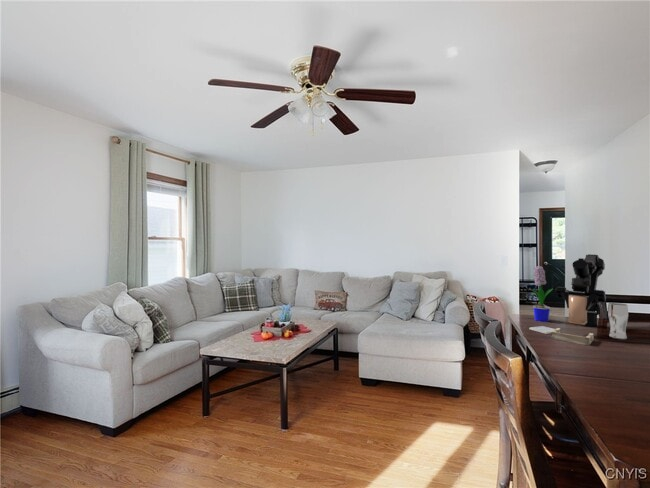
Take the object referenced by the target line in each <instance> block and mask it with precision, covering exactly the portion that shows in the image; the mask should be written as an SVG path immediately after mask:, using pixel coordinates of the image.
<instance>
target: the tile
mask: <svg viewBox="0 0 650 488" xmlns="http://www.w3.org/2000/svg"><path fill="white" fill-rule="evenodd" d="M555 329H556V328H552V327H548V326H545V325H540V326H531V327H529V330H531V331H533V332H534V331H535V332H537V333H538V332H539V333H542V334H546V335H547V334H549V335H550V334H551V332H552V331H554V330H555Z"/></svg>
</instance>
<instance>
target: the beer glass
mask: <svg viewBox="0 0 650 488" xmlns="http://www.w3.org/2000/svg"><path fill="white" fill-rule="evenodd" d="M607 317H608V323H609V328H610V329H609V335H608V336H609V338H612V339H616V340H627V339H628V337H627V333H626V331H627V324H628V321H629V306H628V304H626V303H620V302H608V307H607Z"/></svg>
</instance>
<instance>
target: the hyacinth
mask: <svg viewBox="0 0 650 488" xmlns="http://www.w3.org/2000/svg"><path fill="white" fill-rule="evenodd" d="M533 279H534V284H536V286H538V291H537V290H536V289H530V290H531V291H532V292H533V293H534V294H535V295H536V298H537V299H538V301H539V305H532V309H533V315H534V321H537V322H543V323H544V322H549V319H550V311H551V307H550V306H546V305H544V303H545V300H546V297H547V295H549V294H550V293H551V292H552V291H553V290H554V288H549V289H547V290H546V291H544V290H543V285H546V284H547V280H546V270H545V269H544V267H543V266H540V265H537V266H535V267H534V268H533Z"/></svg>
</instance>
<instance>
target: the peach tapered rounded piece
mask: <svg viewBox="0 0 650 488" xmlns="http://www.w3.org/2000/svg"><path fill="white" fill-rule="evenodd" d="M586 306H587V297H585V296H575V295H569V308H568V323H570V324H576V325H581V324H582V326H583V325H585V324H586V323H587V310H586Z"/></svg>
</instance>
